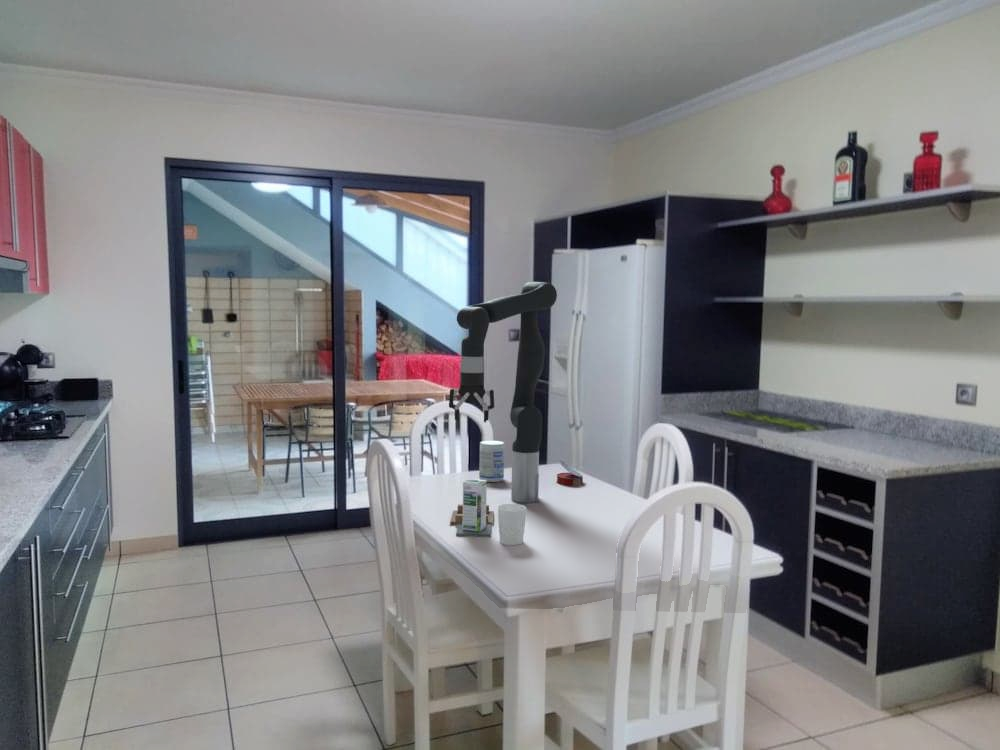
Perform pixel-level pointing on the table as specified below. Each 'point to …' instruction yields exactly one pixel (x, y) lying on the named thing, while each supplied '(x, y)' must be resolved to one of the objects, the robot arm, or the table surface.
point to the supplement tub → (491, 461)
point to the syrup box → (474, 504)
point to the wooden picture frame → (458, 515)
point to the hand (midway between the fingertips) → (471, 421)
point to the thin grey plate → (483, 533)
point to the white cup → (511, 523)
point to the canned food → (569, 477)
